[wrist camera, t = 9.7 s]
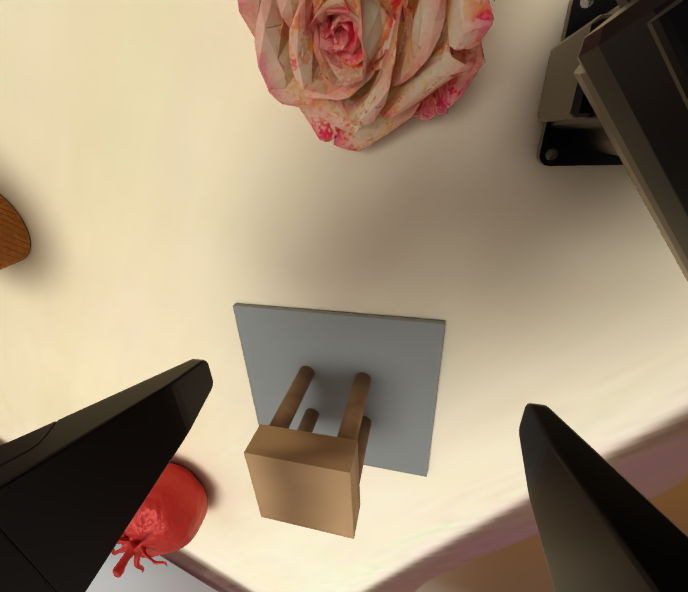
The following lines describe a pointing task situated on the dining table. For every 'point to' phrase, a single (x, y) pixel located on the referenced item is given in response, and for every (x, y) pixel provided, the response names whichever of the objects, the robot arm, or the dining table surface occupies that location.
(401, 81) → the flower
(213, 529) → the dining table surface
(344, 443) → the stool
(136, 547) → the pomegranate
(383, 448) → the mat
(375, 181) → the dining table surface
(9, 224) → the disposable coffee cup
